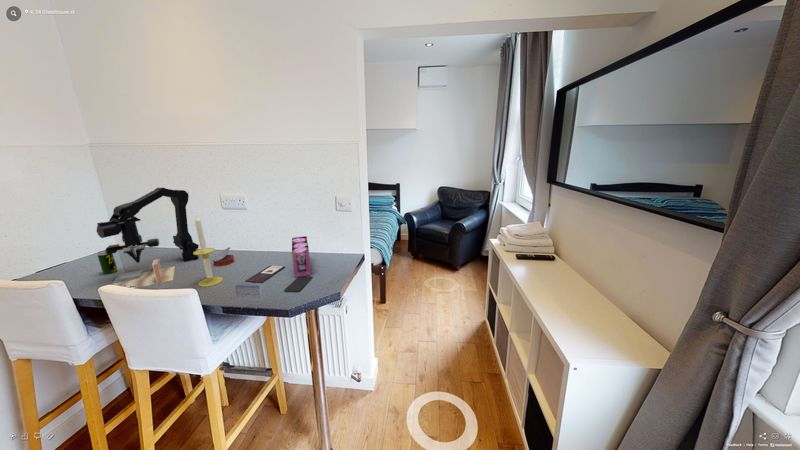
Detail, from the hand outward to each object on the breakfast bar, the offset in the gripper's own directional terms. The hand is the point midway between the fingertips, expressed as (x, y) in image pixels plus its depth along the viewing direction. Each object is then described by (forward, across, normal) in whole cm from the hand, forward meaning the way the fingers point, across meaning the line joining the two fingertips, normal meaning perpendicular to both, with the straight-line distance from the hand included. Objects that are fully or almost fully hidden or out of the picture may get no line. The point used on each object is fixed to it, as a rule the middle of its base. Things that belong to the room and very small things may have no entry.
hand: (138, 262), depth 141 cm
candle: (+8, -28, +29) cm, 41 cm away
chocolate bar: (+8, -51, +36) cm, 63 cm away
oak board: (+8, -2, +6) cm, 9 cm away
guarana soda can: (+8, +14, -15) cm, 22 cm away
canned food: (+8, -35, +5) cm, 36 cm away
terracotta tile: (+7, -8, +11) cm, 15 cm away
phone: (+8, -61, +57) cm, 84 cm away
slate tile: (+6, 0, 0) cm, 6 cm away
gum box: (+8, -68, +39) cm, 79 cm away
